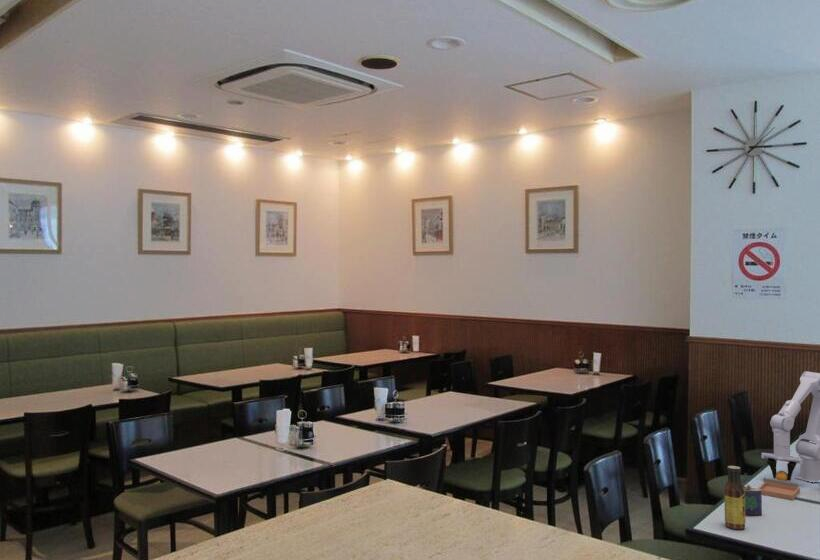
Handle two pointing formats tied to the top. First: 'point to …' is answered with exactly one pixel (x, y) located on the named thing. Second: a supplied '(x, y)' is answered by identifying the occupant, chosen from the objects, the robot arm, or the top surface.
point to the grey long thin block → (781, 482)
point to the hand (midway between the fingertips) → (782, 478)
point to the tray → (779, 490)
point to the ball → (782, 476)
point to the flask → (753, 501)
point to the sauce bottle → (734, 499)
